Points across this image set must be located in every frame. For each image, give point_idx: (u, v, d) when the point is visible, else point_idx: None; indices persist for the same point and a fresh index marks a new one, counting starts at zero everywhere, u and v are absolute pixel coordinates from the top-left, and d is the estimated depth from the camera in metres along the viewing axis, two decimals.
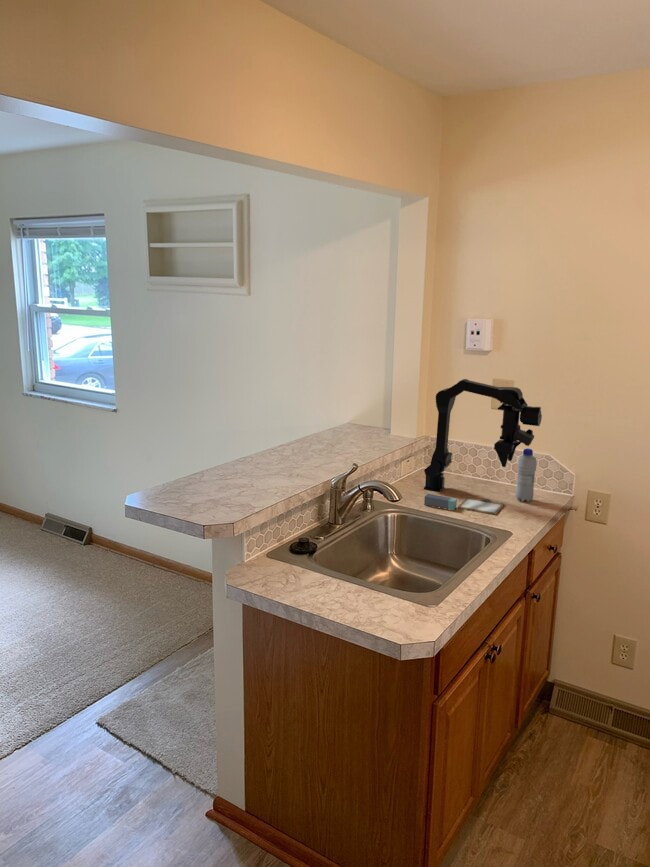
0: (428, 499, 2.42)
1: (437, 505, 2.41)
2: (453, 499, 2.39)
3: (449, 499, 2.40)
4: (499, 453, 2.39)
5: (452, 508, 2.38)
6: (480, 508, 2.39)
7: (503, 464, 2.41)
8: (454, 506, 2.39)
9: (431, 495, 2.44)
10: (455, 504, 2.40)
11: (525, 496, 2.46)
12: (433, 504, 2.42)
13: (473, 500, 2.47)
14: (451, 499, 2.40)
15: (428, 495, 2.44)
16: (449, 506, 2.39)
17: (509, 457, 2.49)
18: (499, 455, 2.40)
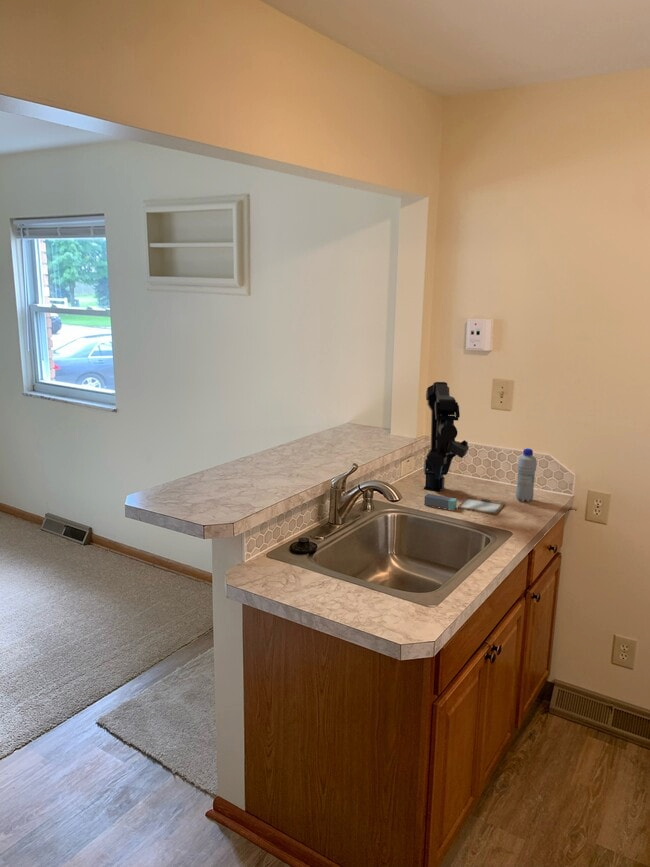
0: (428, 499, 2.42)
1: (437, 505, 2.41)
2: (453, 499, 2.39)
3: (449, 499, 2.40)
4: (432, 465, 2.34)
5: (452, 508, 2.38)
6: (480, 508, 2.39)
7: (437, 476, 2.35)
8: (454, 506, 2.39)
9: (431, 495, 2.44)
10: (455, 504, 2.40)
11: (525, 496, 2.46)
12: (433, 504, 2.42)
13: (473, 500, 2.47)
14: (451, 499, 2.40)
15: (428, 495, 2.44)
16: (449, 506, 2.39)
17: (445, 469, 2.43)
18: (432, 467, 2.34)
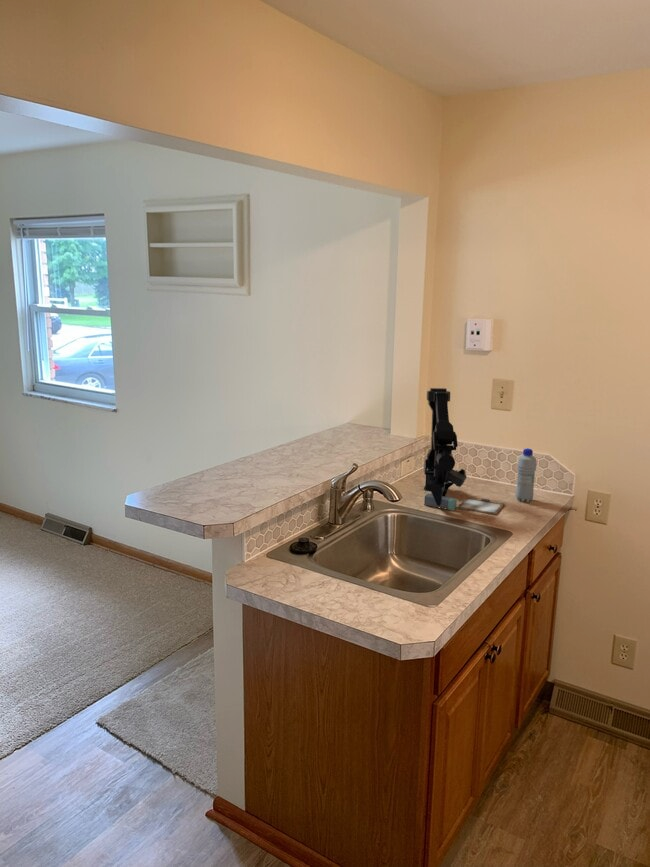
0: (428, 499, 2.42)
1: (437, 505, 2.41)
2: (453, 499, 2.39)
3: (449, 499, 2.40)
4: (433, 492, 2.38)
5: (452, 508, 2.38)
6: (480, 508, 2.39)
7: (437, 503, 2.40)
8: (454, 506, 2.39)
9: (431, 495, 2.44)
10: (455, 504, 2.40)
11: (525, 496, 2.46)
12: (433, 504, 2.42)
13: (473, 500, 2.47)
14: (451, 499, 2.40)
15: (428, 495, 2.44)
16: (449, 506, 2.39)
17: None
18: (433, 494, 2.39)
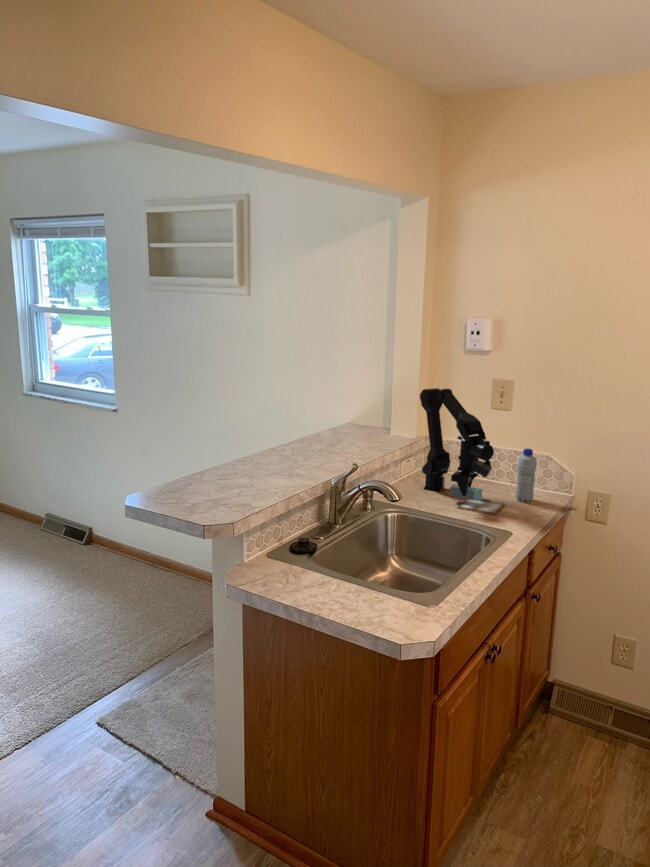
0: (454, 490, 2.45)
1: None
2: (478, 490, 2.42)
3: (475, 489, 2.42)
4: (459, 482, 2.41)
5: (478, 498, 2.41)
6: (480, 508, 2.39)
7: (463, 493, 2.42)
8: (480, 496, 2.42)
9: (456, 486, 2.46)
10: (481, 494, 2.42)
11: (525, 496, 2.46)
12: (459, 494, 2.44)
13: (473, 500, 2.47)
14: (477, 489, 2.42)
15: (453, 486, 2.46)
16: (475, 496, 2.41)
17: None
18: (459, 484, 2.41)
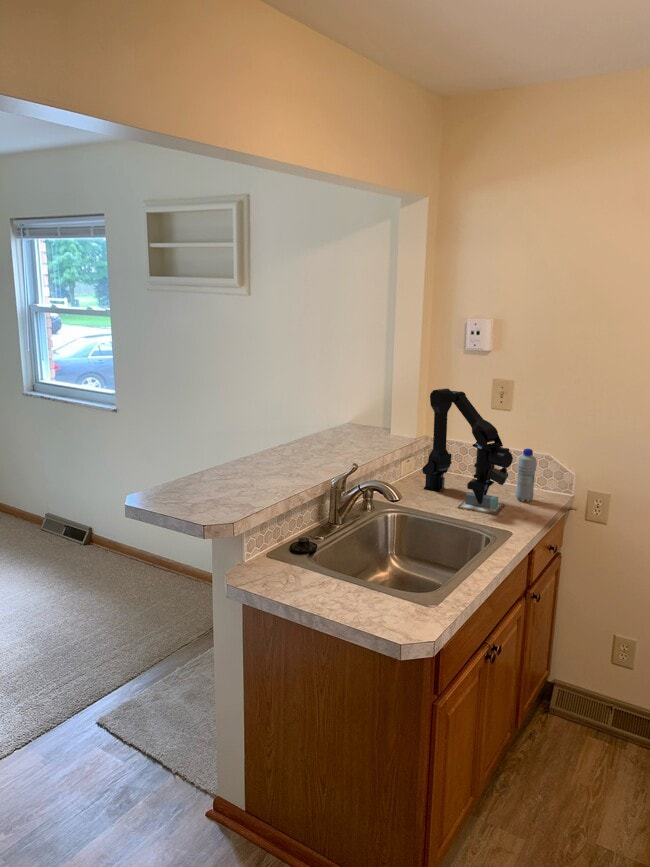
0: (470, 497, 2.42)
1: None
2: (495, 497, 2.40)
3: (491, 497, 2.40)
4: (475, 490, 2.39)
5: (494, 506, 2.38)
6: (480, 508, 2.39)
7: (479, 501, 2.40)
8: (496, 504, 2.39)
9: (472, 493, 2.44)
10: (497, 502, 2.40)
11: (525, 496, 2.46)
12: (474, 502, 2.42)
13: None
14: (493, 497, 2.40)
15: (469, 493, 2.44)
16: (491, 504, 2.39)
17: None
18: (475, 492, 2.39)
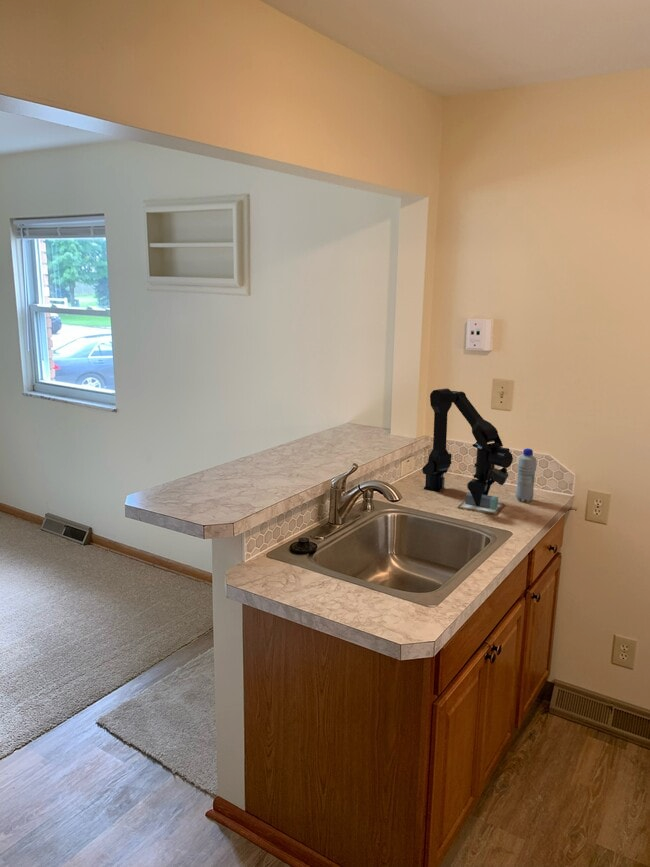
0: (470, 498, 2.42)
1: None
2: (495, 498, 2.40)
3: (491, 497, 2.40)
4: (473, 492, 2.36)
5: (494, 506, 2.38)
6: (480, 508, 2.39)
7: (477, 503, 2.38)
8: (496, 504, 2.39)
9: None
10: (497, 502, 2.40)
11: (525, 496, 2.46)
12: (474, 502, 2.42)
13: None
14: (493, 497, 2.40)
15: (469, 493, 2.44)
16: (491, 504, 2.39)
17: None
18: (473, 494, 2.37)
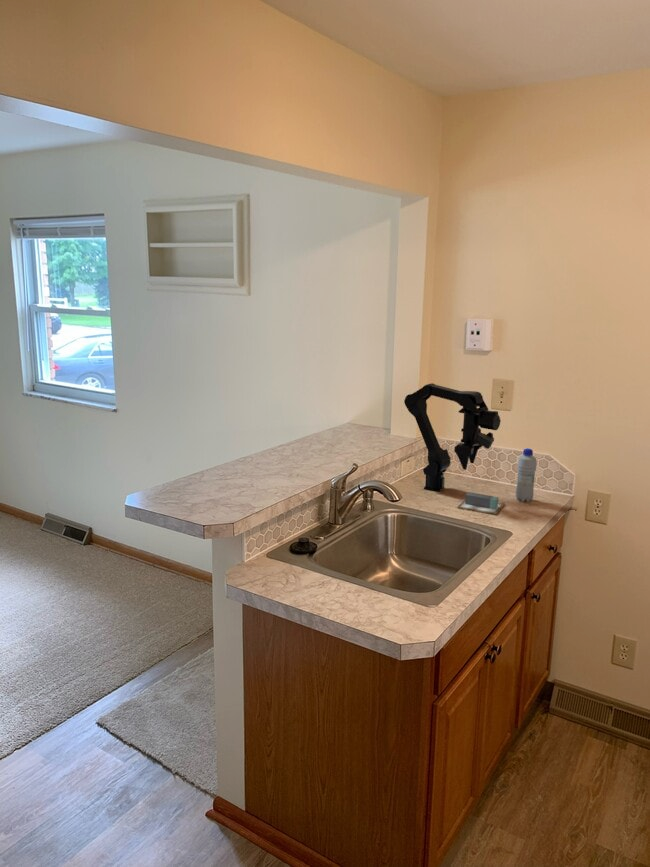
0: (470, 498, 2.42)
1: (478, 503, 2.41)
2: (495, 498, 2.40)
3: (491, 497, 2.40)
4: (459, 456, 2.44)
5: (494, 506, 2.38)
6: (480, 508, 2.39)
7: (464, 467, 2.46)
8: (496, 504, 2.39)
9: (472, 493, 2.44)
10: (497, 502, 2.40)
11: (525, 496, 2.46)
12: (474, 502, 2.42)
13: None
14: (493, 497, 2.40)
15: (469, 493, 2.44)
16: (491, 504, 2.39)
17: (471, 460, 2.54)
18: (460, 458, 2.45)
